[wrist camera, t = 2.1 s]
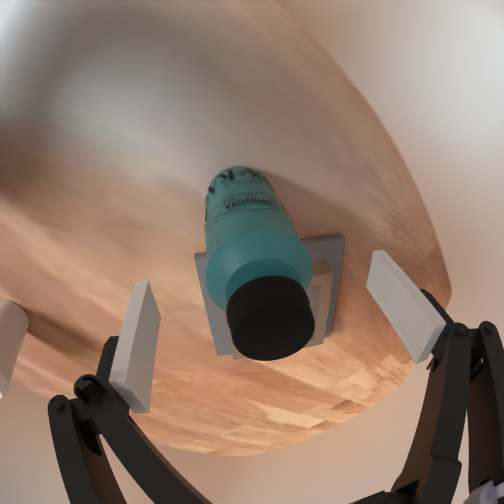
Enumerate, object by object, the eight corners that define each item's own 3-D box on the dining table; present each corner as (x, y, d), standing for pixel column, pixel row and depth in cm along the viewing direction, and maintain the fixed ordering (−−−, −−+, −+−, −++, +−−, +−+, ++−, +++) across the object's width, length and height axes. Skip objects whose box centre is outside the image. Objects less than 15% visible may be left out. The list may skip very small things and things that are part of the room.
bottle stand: (194, 253, 32) (193, 273, 29) (341, 234, 34) (355, 251, 30) (217, 350, 42) (218, 371, 38) (327, 332, 43) (335, 350, 40)
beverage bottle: (274, 207, 30) (349, 353, 14) (216, 226, 31) (232, 390, 14) (257, 151, 27) (343, 258, 10) (195, 172, 27) (176, 312, 10)
